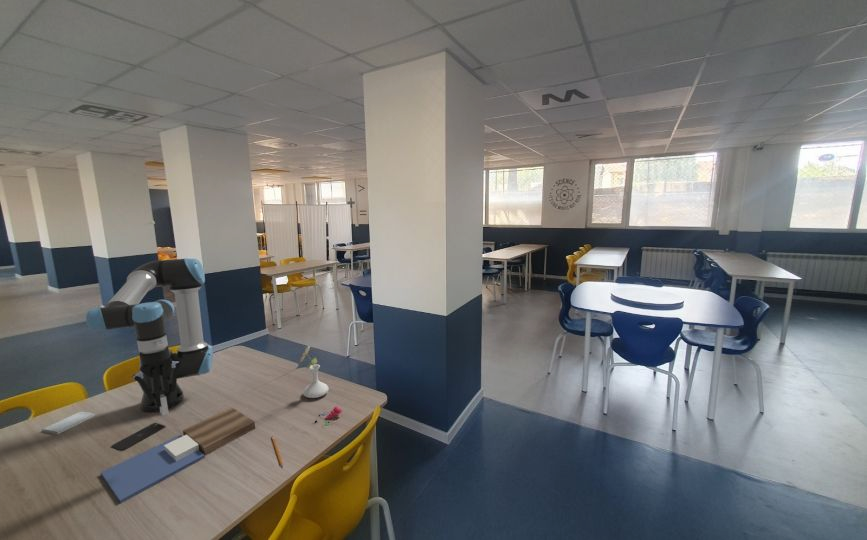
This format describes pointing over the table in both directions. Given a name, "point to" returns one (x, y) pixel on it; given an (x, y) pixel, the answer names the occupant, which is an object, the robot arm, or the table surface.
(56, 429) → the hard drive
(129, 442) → the smartphone
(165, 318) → the robot arm
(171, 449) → the tile
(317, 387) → the flower in vase
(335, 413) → the toy pieces
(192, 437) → the brown board
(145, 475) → the mat
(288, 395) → the table surface
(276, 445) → the pencil
